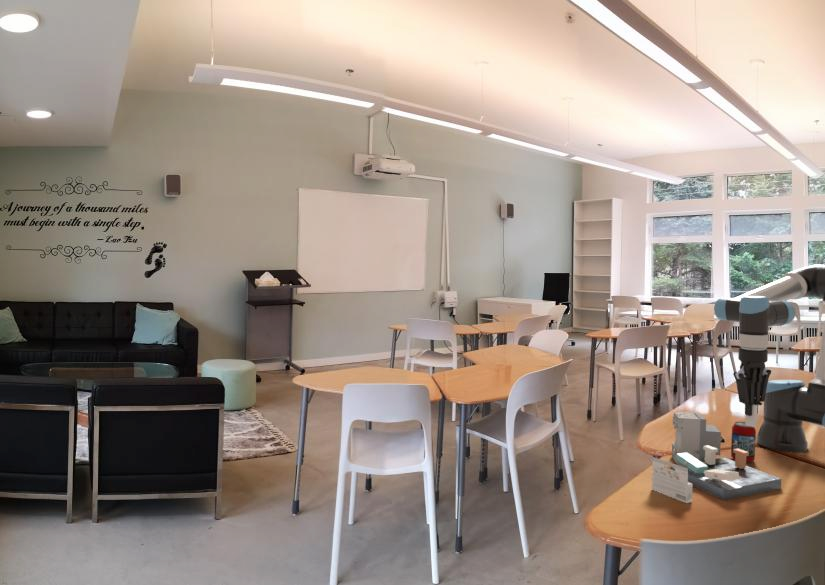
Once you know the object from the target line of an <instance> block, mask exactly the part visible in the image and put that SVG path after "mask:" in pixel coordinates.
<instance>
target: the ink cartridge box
mask: <svg viewBox="0 0 825 585" xmlns="http://www.w3.org/2000/svg"><path fill="white" fill-rule="evenodd" d="M668 465H669V466H670V467H671V466H672V467H673V468H674V469H675V471H674V470H671V469H670V468H669V467H665V466H668ZM651 476H652V478H651V491H653V490H654V492H656V491H657V492H656V493H658V492H659V494H661V493H662V494H661V495H664V496H666V495H667V496H666V497H669V498H671V497H672V499H674V498H675V500H676V501H679V502H681V503H684V504H690V503H692V502H693V484H692V483H689V482H688V468H685V467H682V466H679V465H678V464H677V463H676V464H675V463H673V462H669V461H666V460H663V459H660V458H657V457H654V456H652V473H651Z"/></svg>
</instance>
